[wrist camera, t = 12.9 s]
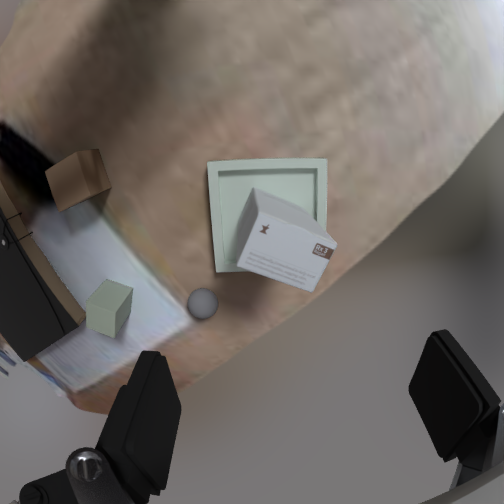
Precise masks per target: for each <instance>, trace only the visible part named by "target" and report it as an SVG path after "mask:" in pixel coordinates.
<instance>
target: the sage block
mask: <svg viewBox="0 0 504 504" xmlns="http://www.w3.org/2000/svg"><path fill="white" fill-rule="evenodd" d="M132 295H133V288H132V287H129V286H126V285H123V284H120V283H117V282H115V281H112V280H109V279H106V280H105V281H104V282H103V283H102V284H101V285H100V286H99V287H98V288H97V290H96V291H95V292H94V293H93V294H92V295H91V296H90V297H89V298H88V300H87V301H86V327H87V328H89V329H92V330H94V331H97V332H99V333H102V334H104V335H107V336H109V337H112V338H115V337H116V335H117V333H118V332H119V330H120V328H121V327H122V325H123V324H124V322H125V320H126V319H127V317H128V316H129V314H130V312H131V303H132Z"/></svg>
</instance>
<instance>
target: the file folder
mask: <svg viewBox="0 0 504 504" xmlns="http://www.w3.org/2000/svg"><path fill="white" fill-rule="evenodd" d="M20 214H22V213H19V214H18V212H17V210H16V208H15V206H14V205H13V203H12V202H11V200H10V198H9V197H8V195H7V193H6V191H5V189H4V187H3V185H2V183H1V181H0V333H1V334H2V336H3V337H4V338H5V340H6V341H7V342H8V343H9V345H10V346H11V347H12V348H13V350H14V351H15V352H16V353H17V354H18V356H19V357H20V358H21V359H22V360H23V362H25V361H27V360H28V359H30V358H31V357H33V356H34V355H36V354H38V353H39V352H41V351H42V350H44V349H45V348H47V347H48V346H50V345H51V344H53V343H54V342H56V341H57V340H59V339H61V338H62V337H63V336H65V335H66V334H68V333H69V332H71V331H72V330H74V329H76V328H77V327H79V325H80V324H81V322H82V321H83V320H84V318H85V317H86V312H84V310H83V309H82V308H81V306H80V305H79V304H78V302H77V301H76V300H75V298H74V297H73V296H72V294H71V293H70V291H69V290H68V289H67V287H66V286H65V285H64V283H63V282H62V281H61V279H60V278H59V277H58V275H57V274H56V272H55V271H54V269H53V268H52V266H51V264H50V263H49V261H48V260H47V258H46V257H45V255H44V254H43V252H42V251H41V250H40V248H39V247H38V246H37V245H36V243H35V242H34V240H33V239H32V238H31V236H30V234H32V233H33V232H31V233H28V231H27V229H26V227H25V226H24V224H23V222H22V220H21V218H20V216H19V215H20Z"/></svg>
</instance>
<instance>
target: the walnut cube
mask: <svg viewBox="0 0 504 504" xmlns="http://www.w3.org/2000/svg"><path fill="white" fill-rule="evenodd" d="M45 173H46V177H47V180H48V183H49V186H50V189H51V192H52V194H53V197H54V200H55V203H56V206H57V208H58V211H59V212H61V211H63V210H65V209H68V208H70V207H72V206H74V205H77V204H79V203H81V202H83V201H85V200H87V199H89V198H91V197H93V196H95V195H97V194H99V193H101V192H103V191H105V190H107V189H109V188H111V184H110V182H109V179H108V176H107V173H106V170H105V167H104V164H103V161H102V158H101V155H100V152H99V149H92V150H84V151H76V152H74V153H73V154H71V155H69V156H68V157H66V158H65V159H63V160H62V161H60V162H58V163H57V164H55V165H54V166H52V167H51V168H49V169H48V170H47V171H45Z"/></svg>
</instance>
